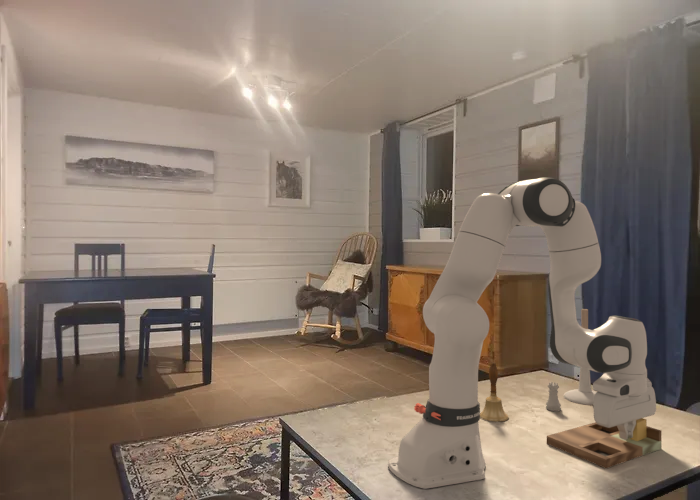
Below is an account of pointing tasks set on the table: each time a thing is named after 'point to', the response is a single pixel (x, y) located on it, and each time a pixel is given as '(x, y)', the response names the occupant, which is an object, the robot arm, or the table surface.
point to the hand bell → (493, 400)
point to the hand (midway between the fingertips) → (626, 438)
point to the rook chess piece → (553, 398)
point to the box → (604, 444)
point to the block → (640, 430)
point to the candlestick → (582, 377)
